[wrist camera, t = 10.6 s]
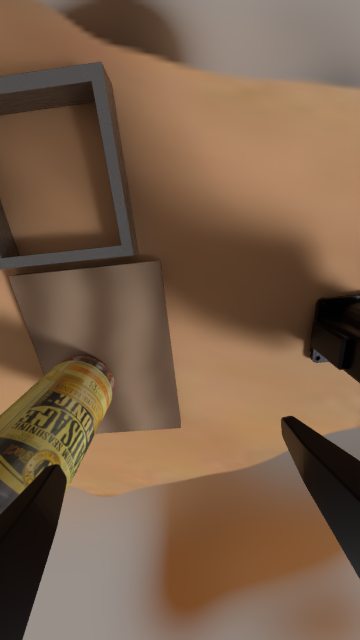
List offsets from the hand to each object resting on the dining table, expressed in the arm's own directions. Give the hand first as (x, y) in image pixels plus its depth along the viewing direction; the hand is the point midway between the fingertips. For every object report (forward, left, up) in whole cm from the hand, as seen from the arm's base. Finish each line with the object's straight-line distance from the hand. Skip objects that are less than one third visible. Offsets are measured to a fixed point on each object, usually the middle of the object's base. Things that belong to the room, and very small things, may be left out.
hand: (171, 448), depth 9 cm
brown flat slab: (+7, +3, -13) cm, 15 cm away
